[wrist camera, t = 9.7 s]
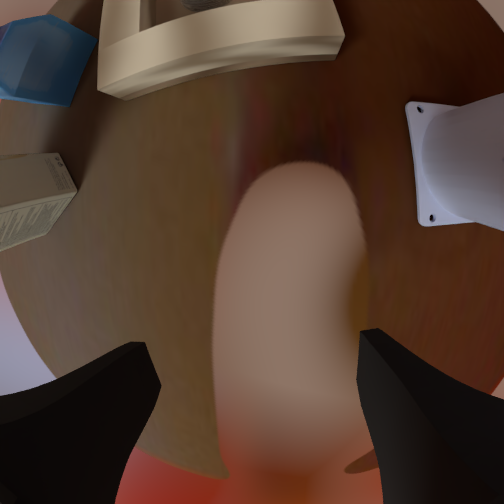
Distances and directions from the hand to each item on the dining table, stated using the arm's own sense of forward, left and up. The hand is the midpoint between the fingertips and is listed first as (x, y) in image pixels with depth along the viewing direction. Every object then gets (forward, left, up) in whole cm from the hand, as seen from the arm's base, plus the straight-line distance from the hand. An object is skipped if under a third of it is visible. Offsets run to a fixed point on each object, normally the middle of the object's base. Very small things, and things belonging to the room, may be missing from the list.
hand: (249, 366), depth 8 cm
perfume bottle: (+15, -19, -10) cm, 26 cm away
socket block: (+1, -20, -9) cm, 22 cm away
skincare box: (+17, -8, -10) cm, 21 cm away
